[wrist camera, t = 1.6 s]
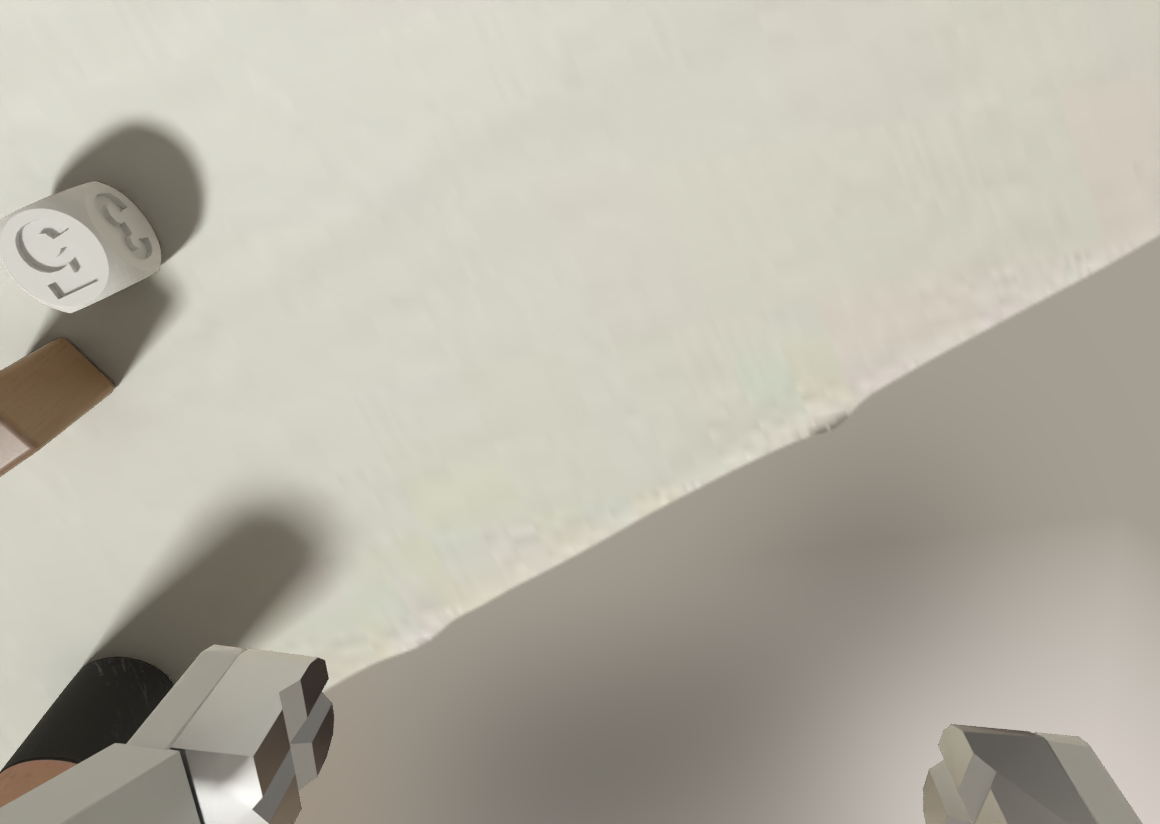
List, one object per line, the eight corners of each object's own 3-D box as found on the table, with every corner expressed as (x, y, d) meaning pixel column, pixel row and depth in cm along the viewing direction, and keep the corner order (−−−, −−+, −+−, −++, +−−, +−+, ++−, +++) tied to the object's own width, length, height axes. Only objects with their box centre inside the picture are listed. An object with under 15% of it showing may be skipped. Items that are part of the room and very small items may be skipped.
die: (99, 296, 39) (47, 324, 35) (36, 213, 37) (-29, 231, 33) (177, 261, 39) (134, 284, 34) (117, 174, 37) (63, 187, 32)
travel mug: (189, 728, 53) (29, 1055, 35) (82, 731, 53) (-138, 1069, 35) (171, 652, 50) (-14, 970, 32) (57, 654, 49) (-200, 982, 31)
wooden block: (14, 369, 40) (-92, 431, 33) (64, 333, 40) (-32, 388, 33) (70, 420, 42) (-18, 489, 35) (120, 386, 42) (40, 449, 34)
